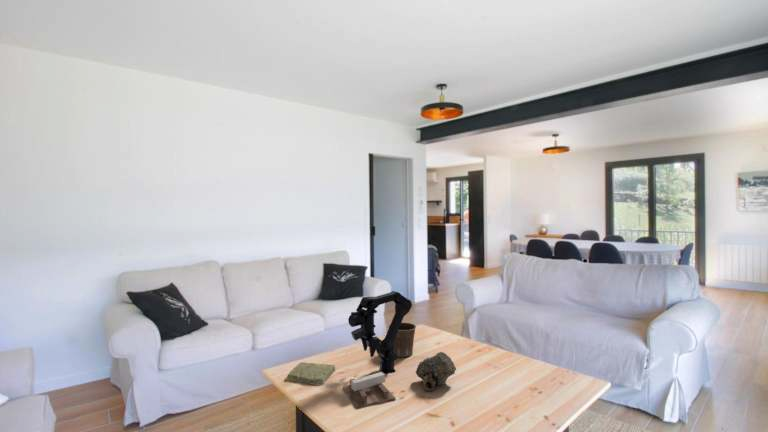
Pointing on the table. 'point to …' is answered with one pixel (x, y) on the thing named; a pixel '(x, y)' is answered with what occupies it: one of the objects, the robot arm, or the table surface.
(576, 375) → the table surface
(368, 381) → the light gray rectangular bar
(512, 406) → the table surface
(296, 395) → the table surface
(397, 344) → the plant pot
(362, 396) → the walnut rack
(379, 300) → the robot arm
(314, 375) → the decorative tile
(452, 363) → the rock
